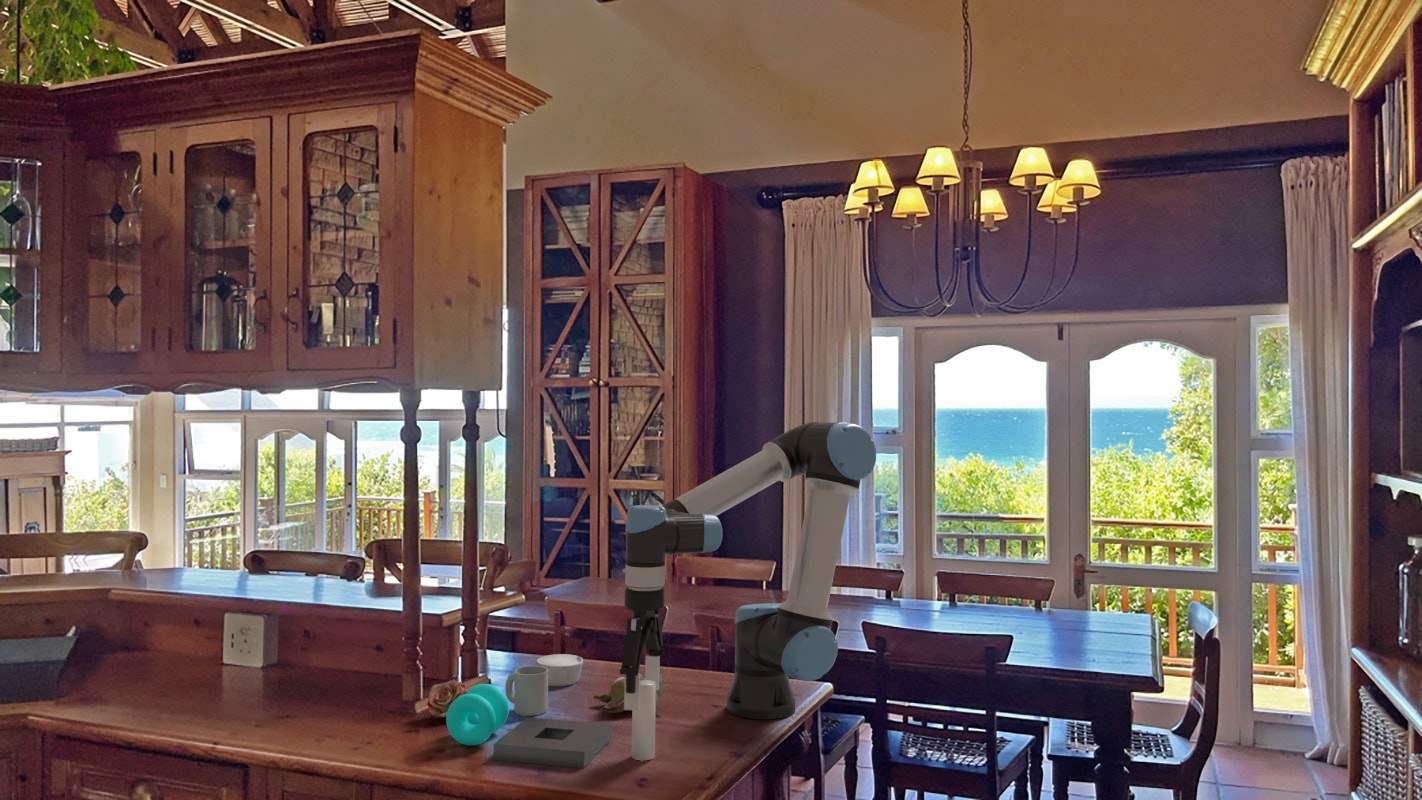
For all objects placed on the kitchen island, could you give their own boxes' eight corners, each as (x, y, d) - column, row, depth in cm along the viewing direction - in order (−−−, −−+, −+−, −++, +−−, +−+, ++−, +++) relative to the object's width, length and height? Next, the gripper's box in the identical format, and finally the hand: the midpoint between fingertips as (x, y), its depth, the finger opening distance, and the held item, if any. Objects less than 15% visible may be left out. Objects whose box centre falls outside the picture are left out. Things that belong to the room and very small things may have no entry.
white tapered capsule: (657, 754, 186) (658, 680, 186) (651, 762, 181) (651, 687, 181) (635, 752, 186) (636, 679, 187) (628, 760, 182) (629, 685, 182)
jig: (611, 739, 194) (611, 724, 194) (584, 768, 178) (584, 751, 178) (527, 732, 197) (527, 717, 197) (493, 759, 182) (493, 743, 182)
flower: (434, 701, 212) (424, 680, 207) (473, 693, 212) (464, 671, 208) (432, 736, 204) (422, 714, 200) (472, 727, 205) (463, 705, 201)
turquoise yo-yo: (443, 746, 189) (443, 694, 189) (464, 729, 199) (465, 680, 199) (491, 749, 188) (492, 697, 188) (511, 732, 197) (511, 683, 197)
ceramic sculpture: (668, 673, 210) (599, 682, 206) (670, 713, 210) (602, 723, 206) (656, 661, 220) (591, 669, 216) (658, 699, 220) (593, 708, 216)
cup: (537, 718, 206) (537, 676, 206) (496, 712, 210) (497, 671, 210) (553, 708, 213) (554, 667, 213) (514, 703, 216) (514, 663, 217)
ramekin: (585, 686, 230) (585, 664, 230) (537, 689, 227) (537, 667, 227) (580, 674, 241) (580, 652, 241) (535, 676, 238) (535, 655, 238)
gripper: (644, 575, 197) (641, 680, 197) (604, 597, 173) (602, 717, 172) (679, 577, 195) (677, 683, 195) (645, 600, 171) (642, 720, 171)
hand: (642, 699), depth 184 cm, fingers open, 13 cm apart
